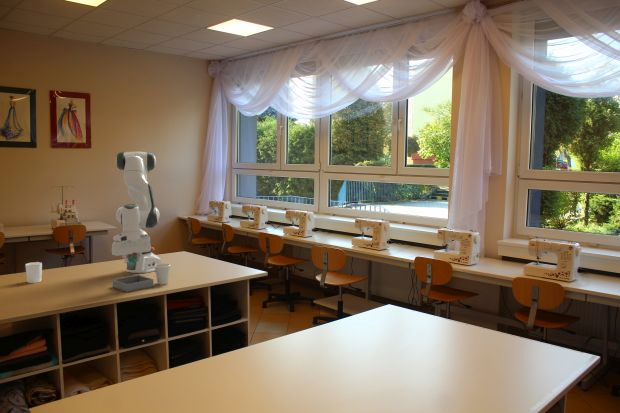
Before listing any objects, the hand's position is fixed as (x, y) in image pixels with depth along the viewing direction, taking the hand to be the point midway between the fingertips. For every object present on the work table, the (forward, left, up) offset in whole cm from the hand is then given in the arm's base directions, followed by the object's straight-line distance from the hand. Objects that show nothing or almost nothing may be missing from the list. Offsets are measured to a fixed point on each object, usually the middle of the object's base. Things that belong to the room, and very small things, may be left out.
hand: (132, 262), depth 260 cm
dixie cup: (-15, +4, -13) cm, 21 cm away
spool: (+1, 0, -4) cm, 4 cm away
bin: (0, 0, -13) cm, 13 cm away
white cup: (+31, -50, -13) cm, 60 cm away
